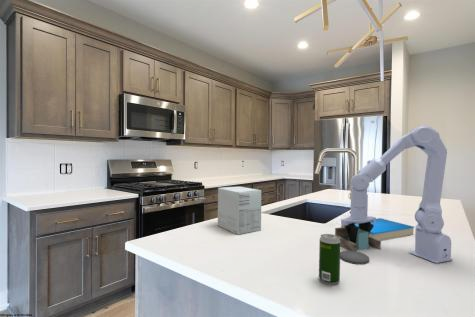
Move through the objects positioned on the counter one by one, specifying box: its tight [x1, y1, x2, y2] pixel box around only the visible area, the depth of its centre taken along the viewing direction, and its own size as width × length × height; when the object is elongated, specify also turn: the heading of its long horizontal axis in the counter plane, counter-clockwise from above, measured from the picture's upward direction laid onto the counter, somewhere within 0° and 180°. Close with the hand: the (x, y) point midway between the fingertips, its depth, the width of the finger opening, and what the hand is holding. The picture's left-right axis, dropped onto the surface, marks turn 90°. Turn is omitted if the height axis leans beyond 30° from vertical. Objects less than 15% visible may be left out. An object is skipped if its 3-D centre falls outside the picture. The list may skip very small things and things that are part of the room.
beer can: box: [318, 233, 341, 286], centre depth 72 cm, size 5×5×12 cm
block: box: [349, 229, 369, 250], centre depth 99 cm, size 5×4×6 cm
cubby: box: [334, 226, 382, 251], centre depth 99 cm, size 10×12×6 cm
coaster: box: [340, 250, 370, 265], centre depth 88 cm, size 9×9×1 cm
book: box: [340, 217, 415, 241], centre depth 117 cm, size 17×4×25 cm
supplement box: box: [217, 186, 262, 235], centre depth 122 cm, size 17×13×18 cm
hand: (358, 242), depth 99 cm, fingers closed on block, 4 cm apart
